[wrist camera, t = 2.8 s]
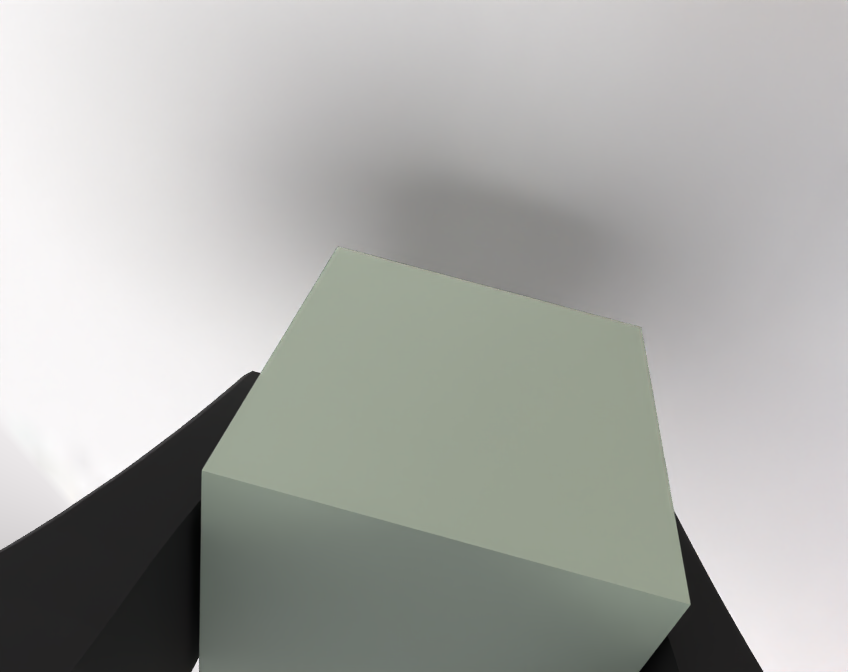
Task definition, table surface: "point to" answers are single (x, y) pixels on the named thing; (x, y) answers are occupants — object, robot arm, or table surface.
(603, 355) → the sage cube
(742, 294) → the table surface
